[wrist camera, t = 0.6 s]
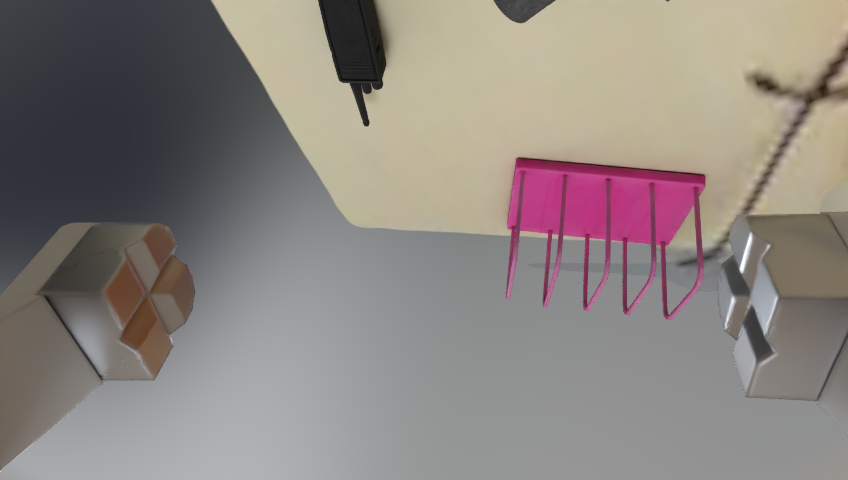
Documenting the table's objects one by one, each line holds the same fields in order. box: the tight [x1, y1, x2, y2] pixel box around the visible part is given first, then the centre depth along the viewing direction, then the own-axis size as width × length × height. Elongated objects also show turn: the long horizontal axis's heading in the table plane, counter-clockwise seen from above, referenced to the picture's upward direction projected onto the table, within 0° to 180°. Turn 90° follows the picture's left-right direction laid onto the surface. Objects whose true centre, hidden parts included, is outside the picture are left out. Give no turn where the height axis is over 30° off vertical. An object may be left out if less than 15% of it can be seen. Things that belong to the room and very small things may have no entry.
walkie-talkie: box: [318, 0, 386, 126], centre depth 71 cm, size 6×6×20 cm
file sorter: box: [506, 159, 705, 320], centre depth 91 cm, size 17×25×16 cm
